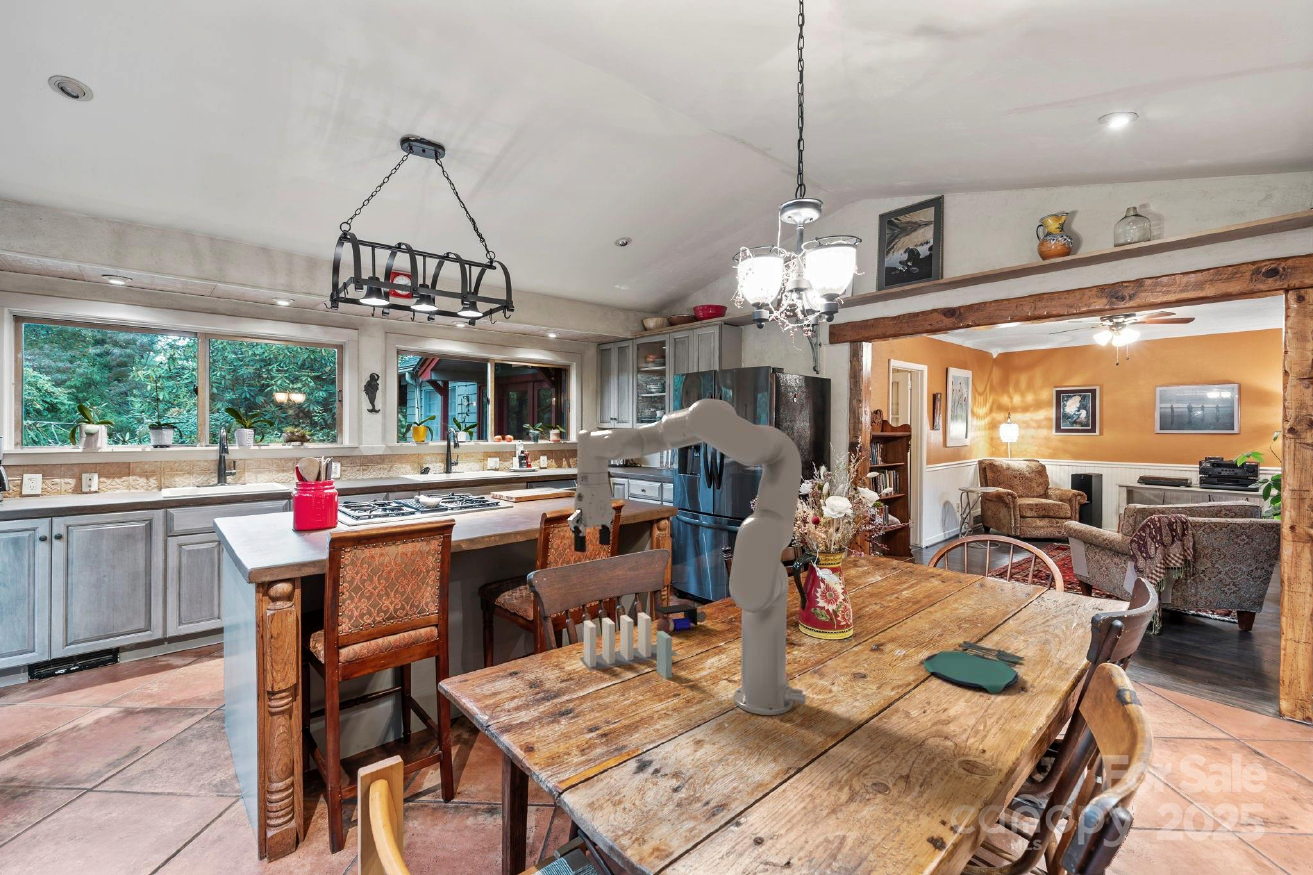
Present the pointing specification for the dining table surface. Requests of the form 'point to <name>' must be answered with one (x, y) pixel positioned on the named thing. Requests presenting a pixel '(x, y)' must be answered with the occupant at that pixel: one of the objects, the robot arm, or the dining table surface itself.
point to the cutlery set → (975, 667)
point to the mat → (623, 659)
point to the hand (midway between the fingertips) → (592, 548)
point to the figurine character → (680, 623)
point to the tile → (664, 654)
